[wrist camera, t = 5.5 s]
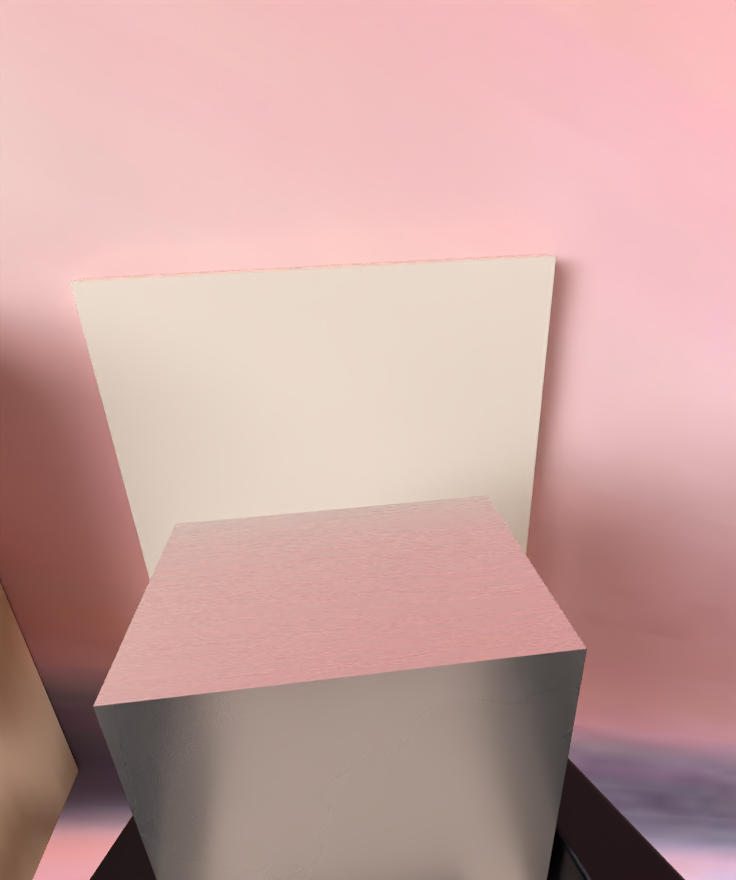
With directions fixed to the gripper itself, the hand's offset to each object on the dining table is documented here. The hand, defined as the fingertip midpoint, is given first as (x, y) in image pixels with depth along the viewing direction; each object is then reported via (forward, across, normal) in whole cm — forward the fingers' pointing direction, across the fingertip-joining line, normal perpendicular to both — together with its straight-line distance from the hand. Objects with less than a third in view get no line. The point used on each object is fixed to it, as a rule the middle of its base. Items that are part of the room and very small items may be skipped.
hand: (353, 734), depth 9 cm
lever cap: (+1, 0, 0) cm, 1 cm away
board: (+6, 0, 0) cm, 6 cm away
